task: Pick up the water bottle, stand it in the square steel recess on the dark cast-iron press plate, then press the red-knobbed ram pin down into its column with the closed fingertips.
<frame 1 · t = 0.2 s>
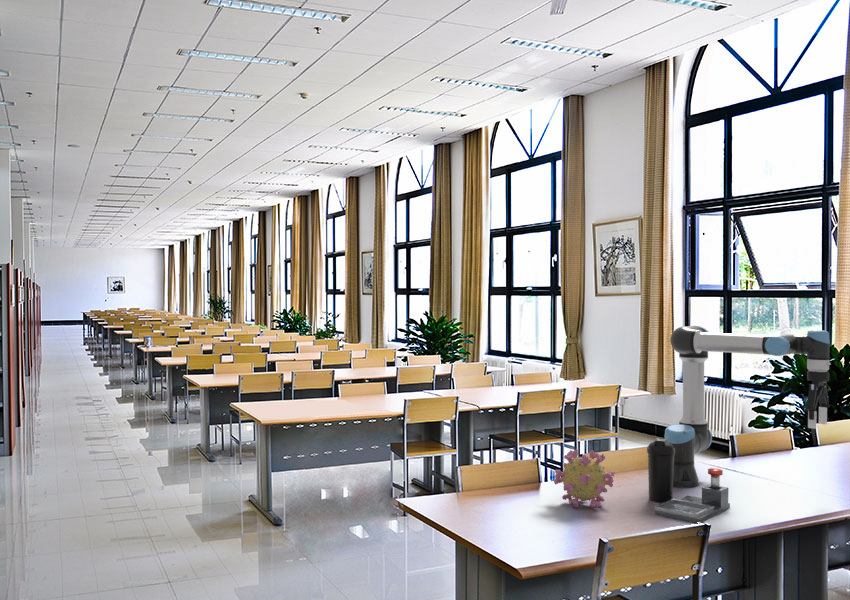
hand: (817, 426, 292), 28 cm above the table, fingers open, 13 cm apart
water bottle: (660, 500, 289), on the table
press: (692, 510, 275), on the table
ram pin: (715, 480, 279), point 10 cm above the table, slide at 0.0 cm
educational model: (584, 506, 281), on the table
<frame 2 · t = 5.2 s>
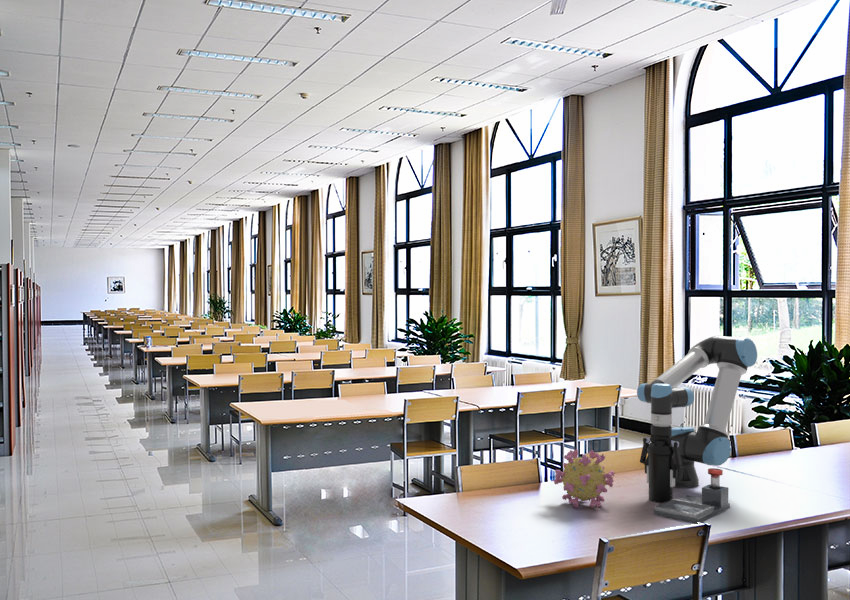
hand: (660, 484, 289), 6 cm above the table, fingers closed on water bottle, 9 cm apart
water bottle: (660, 500, 289), on the table, touching gripper
everything else where it was.
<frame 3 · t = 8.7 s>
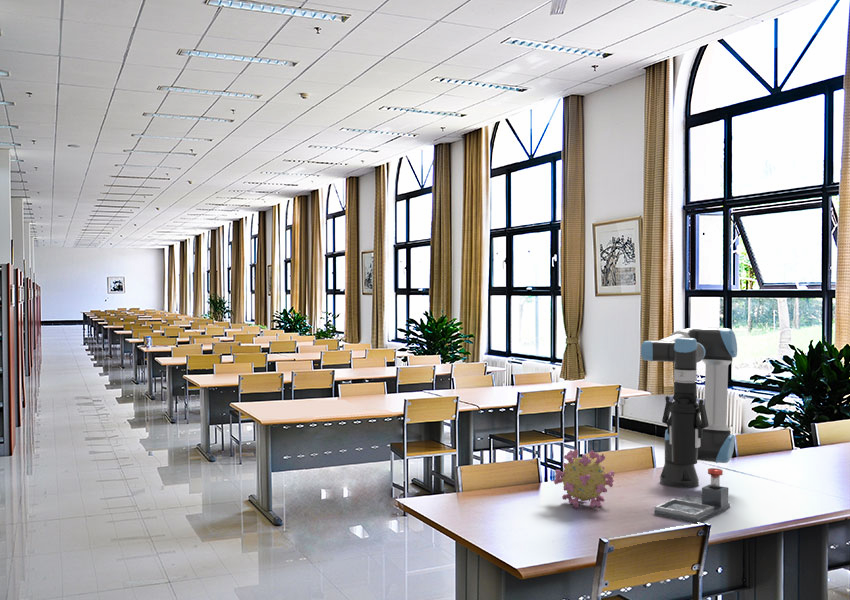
hand: (684, 445, 271), 24 cm above the table, fingers closed on water bottle, 9 cm apart
water bottle: (684, 462, 271), point 18 cm above the table, touching gripper
everything else where it was.
when the fingers open (9 cm above the table, at t = 11.8 s): water bottle drops 1 cm, resting on press.
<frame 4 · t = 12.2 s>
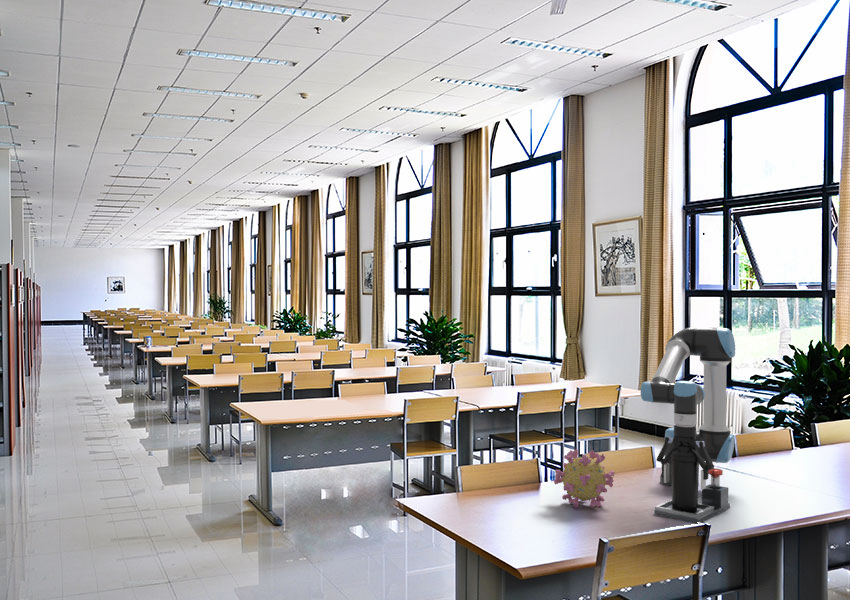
hand: (684, 485, 271), 10 cm above the table, fingers open, 13 cm apart
water bottle: (684, 510, 271), point 1 cm above the table, touching press
everything else where it was.
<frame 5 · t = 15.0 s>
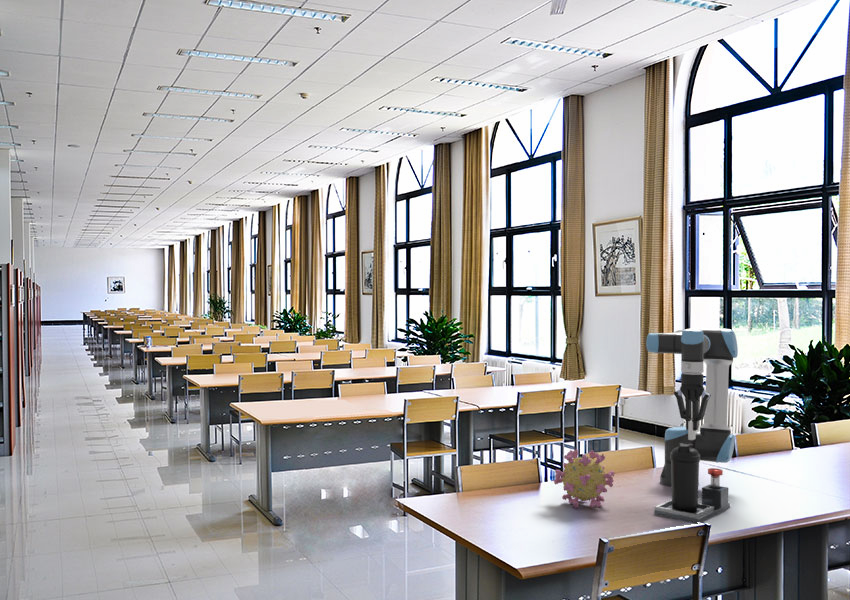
hand: (691, 439, 273), 26 cm above the table, fingers closed
nothing on the table moved.
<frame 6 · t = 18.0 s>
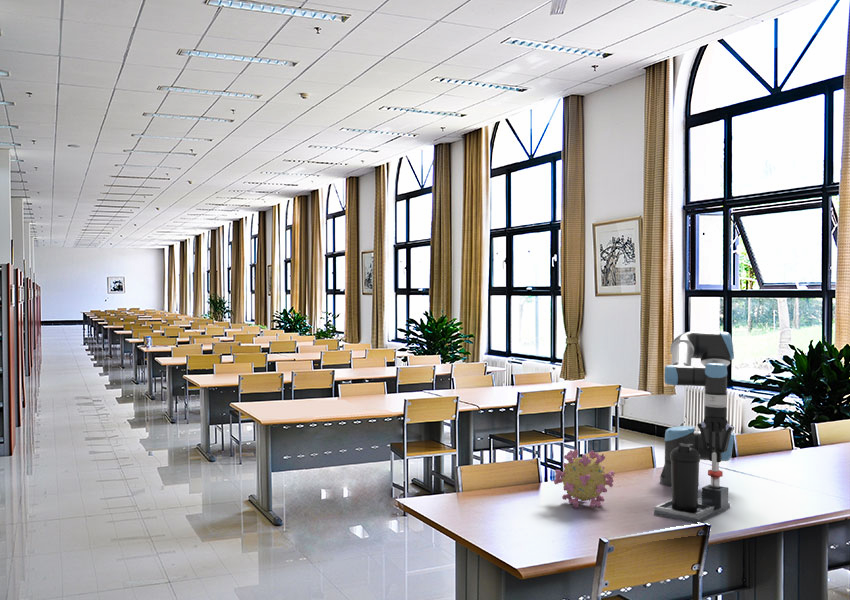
hand: (715, 470, 278), 14 cm above the table, fingers closed
ram pin: (715, 482, 279), point 9 cm above the table, slide at 0.5 cm, touching gripper
everything else where it was.
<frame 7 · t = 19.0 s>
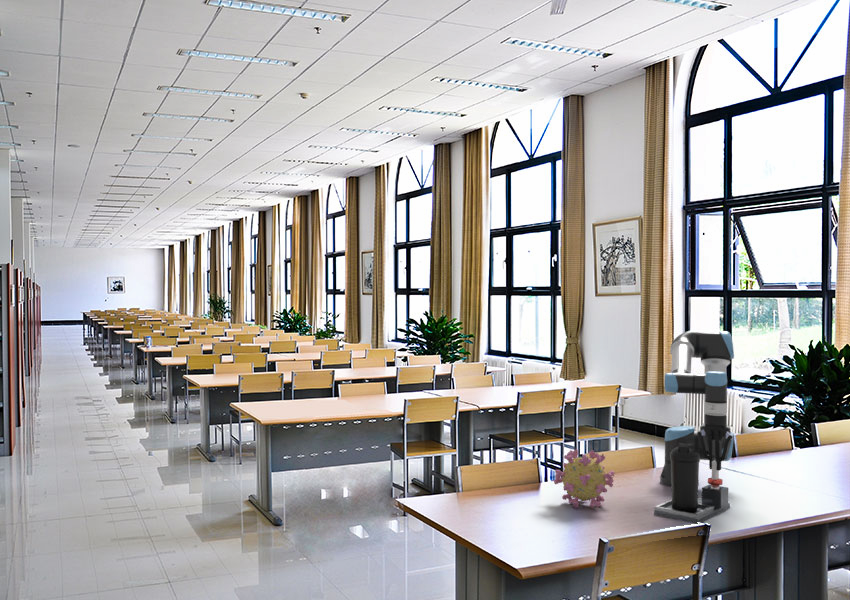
hand: (715, 478, 278), 11 cm above the table, fingers closed
ram pin: (715, 490, 279), point 7 cm above the table, slide at 3.5 cm, touching gripper
everything else where it was.
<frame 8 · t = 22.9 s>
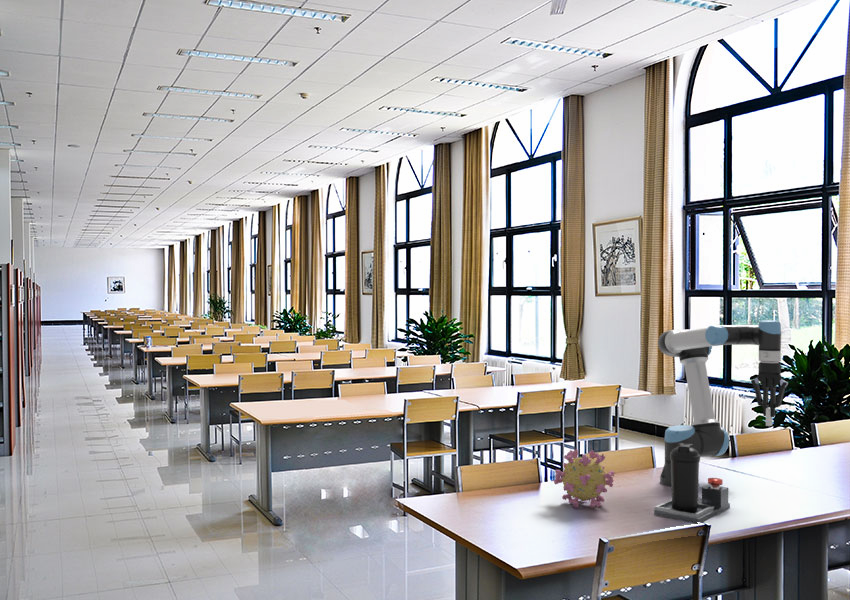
hand: (769, 425, 284), 29 cm above the table, fingers closed
ram pin: (715, 490, 279), point 7 cm above the table, slide at 3.5 cm
everything else where it was.
at the end: water bottle inside the target area on the press (0.1 cm from its centre), point 1.3 cm above the press's base; water bottle tilted 0°; ram pin slide at 3.5 cm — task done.
